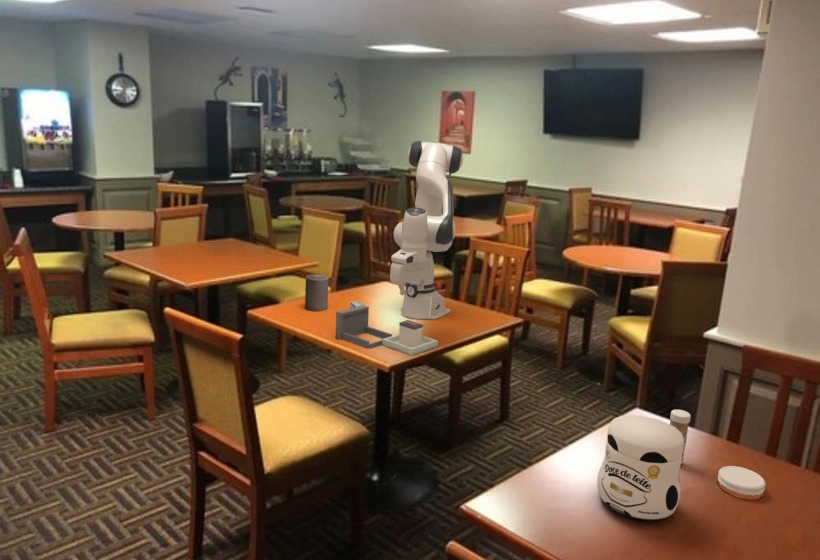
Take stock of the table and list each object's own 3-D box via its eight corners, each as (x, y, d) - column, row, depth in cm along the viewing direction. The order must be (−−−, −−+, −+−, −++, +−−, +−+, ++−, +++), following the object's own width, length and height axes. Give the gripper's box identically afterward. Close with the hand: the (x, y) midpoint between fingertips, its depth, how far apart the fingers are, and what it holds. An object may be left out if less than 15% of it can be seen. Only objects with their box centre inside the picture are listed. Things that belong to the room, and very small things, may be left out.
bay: (362, 329, 257) (363, 305, 255) (394, 340, 246) (395, 315, 244) (335, 337, 247) (336, 311, 244) (367, 349, 236) (368, 322, 234)
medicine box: (349, 322, 265) (349, 301, 263) (359, 321, 267) (360, 301, 265) (355, 328, 258) (356, 307, 256) (366, 327, 260) (367, 306, 258)
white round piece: (768, 504, 150) (770, 490, 150) (720, 496, 153) (723, 482, 152) (757, 482, 160) (760, 469, 159) (713, 475, 162) (715, 462, 161)
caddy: (406, 340, 245) (407, 319, 244) (421, 345, 241) (422, 323, 239) (398, 343, 242) (399, 321, 240) (413, 348, 238) (414, 326, 236)
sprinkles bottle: (682, 468, 164) (691, 418, 161) (663, 464, 166) (671, 414, 163) (682, 460, 168) (690, 411, 165) (663, 456, 170) (671, 407, 167)
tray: (408, 337, 251) (408, 331, 251) (437, 346, 242) (438, 340, 242) (381, 345, 241) (382, 339, 240) (411, 355, 232) (412, 349, 231)
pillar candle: (300, 309, 280) (301, 274, 276) (312, 303, 289) (313, 270, 285) (320, 313, 276) (321, 278, 273) (332, 307, 285) (333, 273, 282)
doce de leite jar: (599, 521, 140) (609, 443, 136) (591, 479, 157) (600, 409, 152) (685, 533, 137) (698, 454, 133) (668, 489, 154) (679, 418, 150)
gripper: (425, 249, 244) (423, 286, 247) (387, 256, 228) (386, 295, 232) (439, 252, 240) (436, 289, 243) (401, 260, 225) (399, 299, 228)
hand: (411, 292), depth 237 cm, fingers open, 8 cm apart
